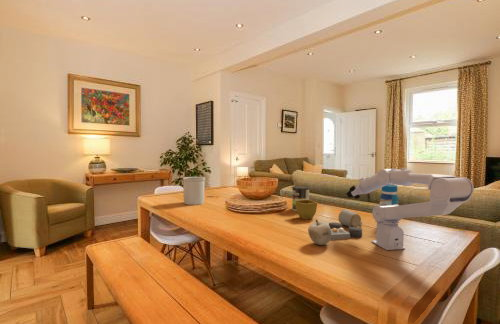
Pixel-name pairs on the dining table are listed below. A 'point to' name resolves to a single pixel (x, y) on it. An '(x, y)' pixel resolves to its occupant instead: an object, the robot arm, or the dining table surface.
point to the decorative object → (320, 232)
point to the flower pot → (306, 208)
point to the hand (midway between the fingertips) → (353, 191)
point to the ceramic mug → (349, 218)
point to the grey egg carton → (339, 234)
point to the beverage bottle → (389, 195)
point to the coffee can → (299, 195)
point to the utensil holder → (193, 190)
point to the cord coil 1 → (335, 225)
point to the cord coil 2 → (355, 232)
